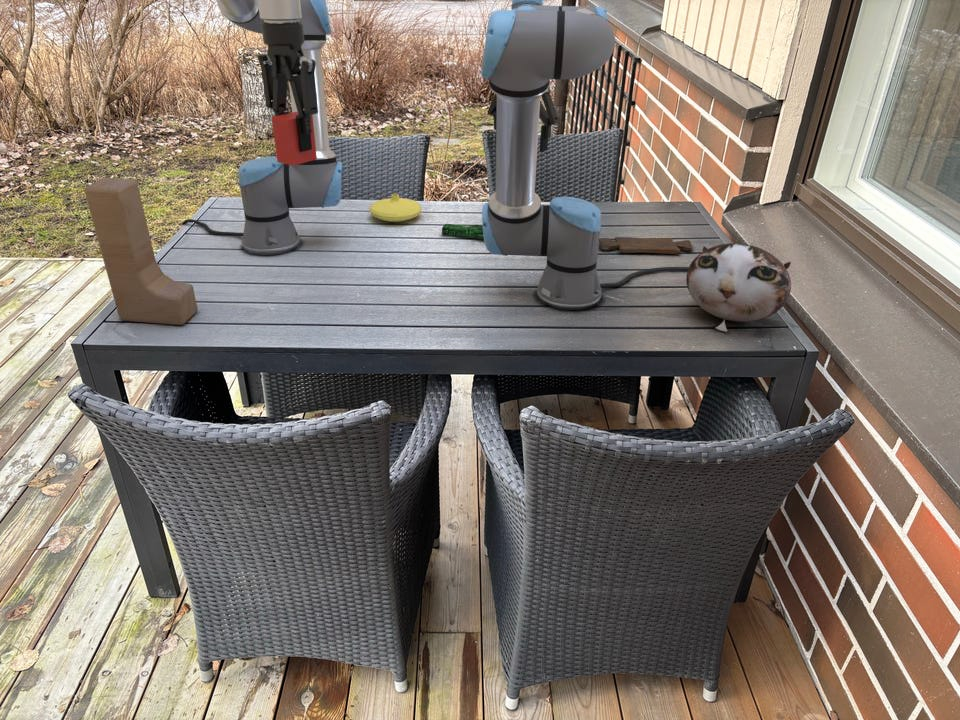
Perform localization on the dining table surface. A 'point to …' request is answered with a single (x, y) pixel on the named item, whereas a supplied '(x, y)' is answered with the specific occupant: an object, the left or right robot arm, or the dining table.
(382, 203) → the yellow lid
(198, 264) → the dining table surface
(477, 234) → the handgun
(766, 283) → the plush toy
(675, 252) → the dark wooden board
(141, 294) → the brown l-shaped piece
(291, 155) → the block
